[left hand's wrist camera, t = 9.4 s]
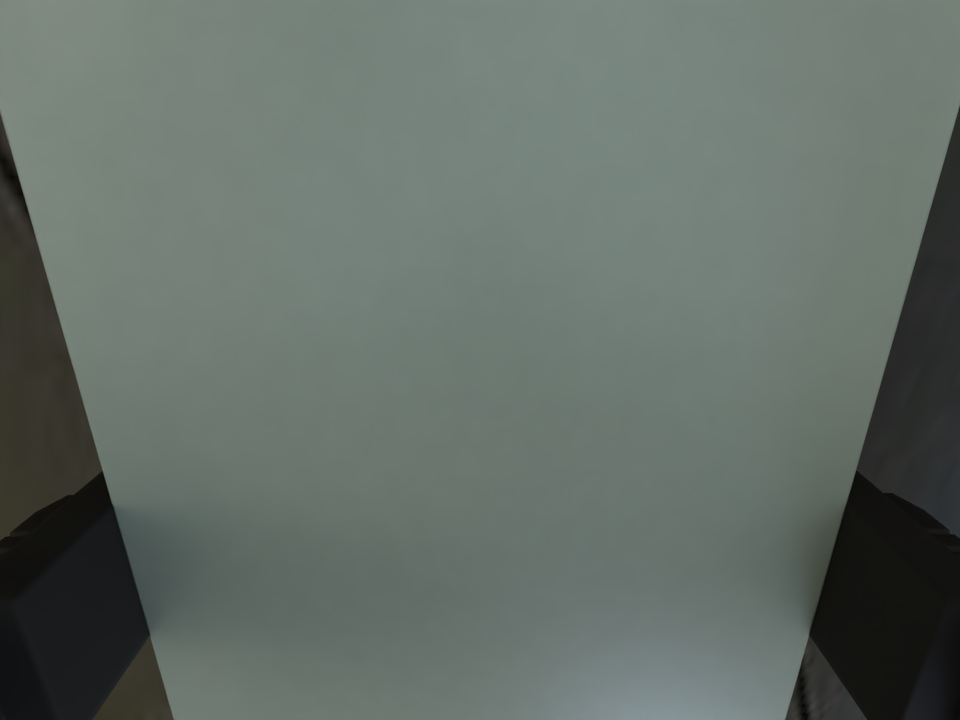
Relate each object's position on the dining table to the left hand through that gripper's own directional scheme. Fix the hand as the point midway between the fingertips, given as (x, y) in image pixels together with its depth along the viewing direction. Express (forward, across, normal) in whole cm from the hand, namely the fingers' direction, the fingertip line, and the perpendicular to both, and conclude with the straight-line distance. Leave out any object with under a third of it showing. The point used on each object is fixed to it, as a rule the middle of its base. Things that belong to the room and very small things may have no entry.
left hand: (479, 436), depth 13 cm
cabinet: (+6, 0, -5) cm, 8 cm away
